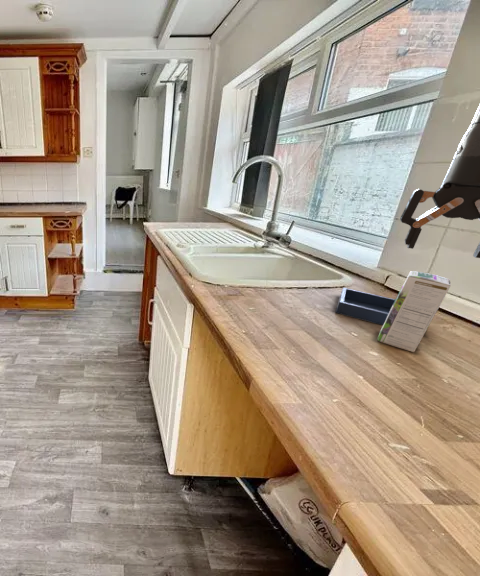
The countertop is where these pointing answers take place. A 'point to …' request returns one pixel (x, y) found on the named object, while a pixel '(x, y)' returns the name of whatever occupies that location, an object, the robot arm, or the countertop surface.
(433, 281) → the syrup box
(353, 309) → the tray
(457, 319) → the countertop surface
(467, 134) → the robot arm
